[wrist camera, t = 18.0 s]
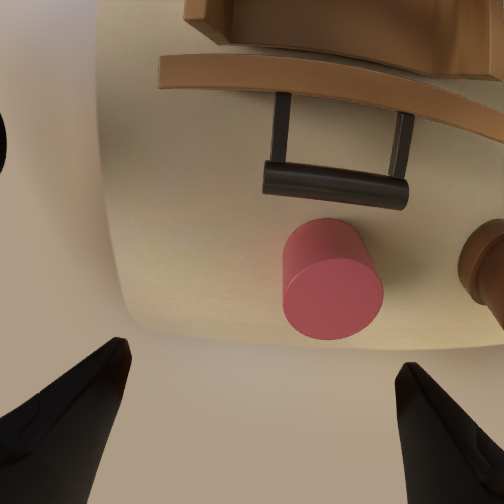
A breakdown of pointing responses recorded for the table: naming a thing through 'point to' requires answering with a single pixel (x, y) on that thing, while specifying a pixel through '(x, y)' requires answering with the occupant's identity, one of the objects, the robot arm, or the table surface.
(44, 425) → the robot arm
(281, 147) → the drawer
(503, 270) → the pepper mill
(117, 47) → the table surface
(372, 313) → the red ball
